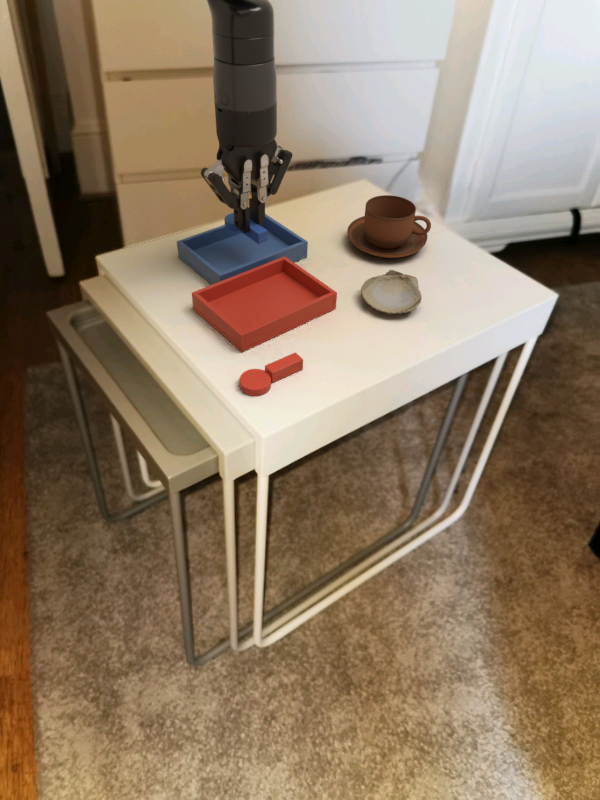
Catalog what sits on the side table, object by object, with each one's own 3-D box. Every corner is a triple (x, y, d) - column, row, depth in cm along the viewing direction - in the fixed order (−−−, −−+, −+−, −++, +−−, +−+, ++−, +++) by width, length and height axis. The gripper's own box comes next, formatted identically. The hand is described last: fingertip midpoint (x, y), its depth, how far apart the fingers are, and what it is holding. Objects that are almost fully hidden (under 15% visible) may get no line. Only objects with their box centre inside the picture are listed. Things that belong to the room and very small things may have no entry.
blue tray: (220, 292, 87) (219, 275, 85) (178, 257, 93) (176, 241, 91) (307, 257, 94) (308, 241, 92) (262, 226, 100) (262, 211, 98)
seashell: (354, 316, 87) (406, 327, 82) (349, 298, 85) (402, 308, 80) (385, 281, 91) (435, 289, 86) (381, 263, 89) (432, 270, 84)
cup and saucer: (414, 223, 102) (420, 186, 98) (434, 263, 94) (442, 225, 89) (340, 226, 101) (343, 189, 97) (354, 267, 92) (357, 228, 88)
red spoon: (250, 400, 72) (250, 389, 71) (233, 382, 74) (233, 372, 73) (308, 374, 75) (308, 363, 74) (290, 357, 77) (290, 347, 76)
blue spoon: (219, 223, 91) (219, 213, 90) (240, 216, 93) (240, 206, 92) (252, 246, 87) (252, 236, 86) (273, 238, 88) (273, 228, 87)
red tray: (241, 352, 78) (241, 335, 76) (193, 309, 84) (191, 292, 82) (336, 308, 85) (337, 292, 83) (284, 271, 91) (284, 255, 89)
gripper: (272, 78, 82) (273, 204, 94) (180, 99, 76) (193, 231, 88) (309, 94, 78) (305, 224, 90) (214, 118, 71) (223, 255, 83)
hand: (249, 227), depth 89 cm, fingers closed on blue spoon, 1 cm apart
